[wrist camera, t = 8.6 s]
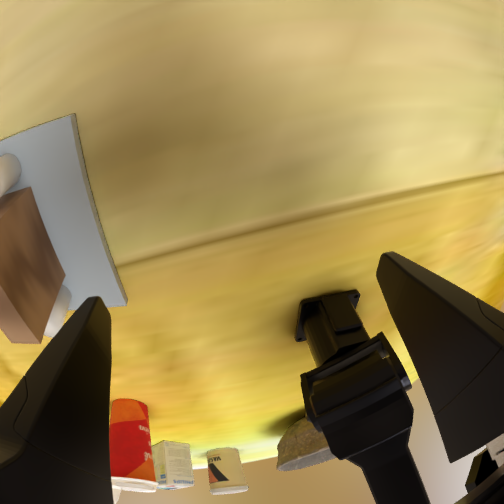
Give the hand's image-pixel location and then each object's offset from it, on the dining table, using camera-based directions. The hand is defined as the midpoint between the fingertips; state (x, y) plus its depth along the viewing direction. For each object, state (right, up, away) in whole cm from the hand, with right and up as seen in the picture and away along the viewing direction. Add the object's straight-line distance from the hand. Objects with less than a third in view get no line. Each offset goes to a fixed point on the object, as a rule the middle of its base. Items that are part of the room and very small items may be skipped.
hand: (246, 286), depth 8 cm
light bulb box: (-19, -43, +43) cm, 64 cm away
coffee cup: (-7, -49, +50) cm, 71 cm away
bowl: (+13, -33, +43) cm, 56 cm away
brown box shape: (-16, +2, +9) cm, 19 cm away
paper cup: (-18, -22, +28) cm, 40 cm away
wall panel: (-16, +3, +9) cm, 19 cm away
